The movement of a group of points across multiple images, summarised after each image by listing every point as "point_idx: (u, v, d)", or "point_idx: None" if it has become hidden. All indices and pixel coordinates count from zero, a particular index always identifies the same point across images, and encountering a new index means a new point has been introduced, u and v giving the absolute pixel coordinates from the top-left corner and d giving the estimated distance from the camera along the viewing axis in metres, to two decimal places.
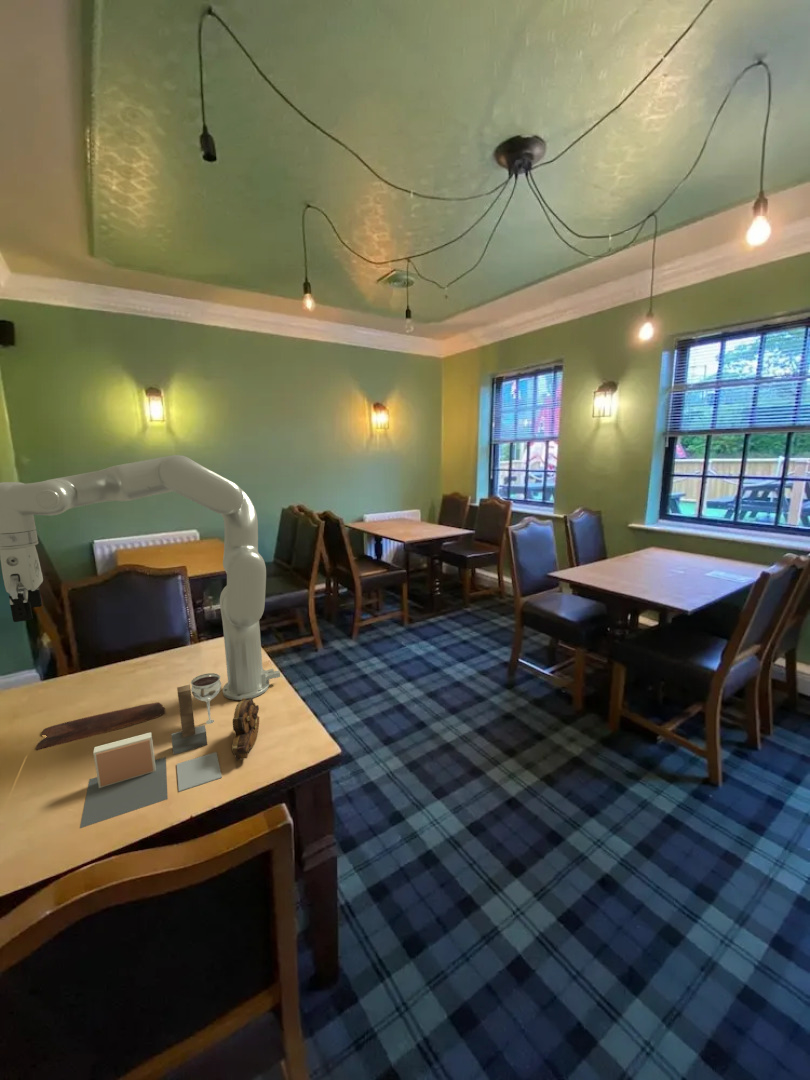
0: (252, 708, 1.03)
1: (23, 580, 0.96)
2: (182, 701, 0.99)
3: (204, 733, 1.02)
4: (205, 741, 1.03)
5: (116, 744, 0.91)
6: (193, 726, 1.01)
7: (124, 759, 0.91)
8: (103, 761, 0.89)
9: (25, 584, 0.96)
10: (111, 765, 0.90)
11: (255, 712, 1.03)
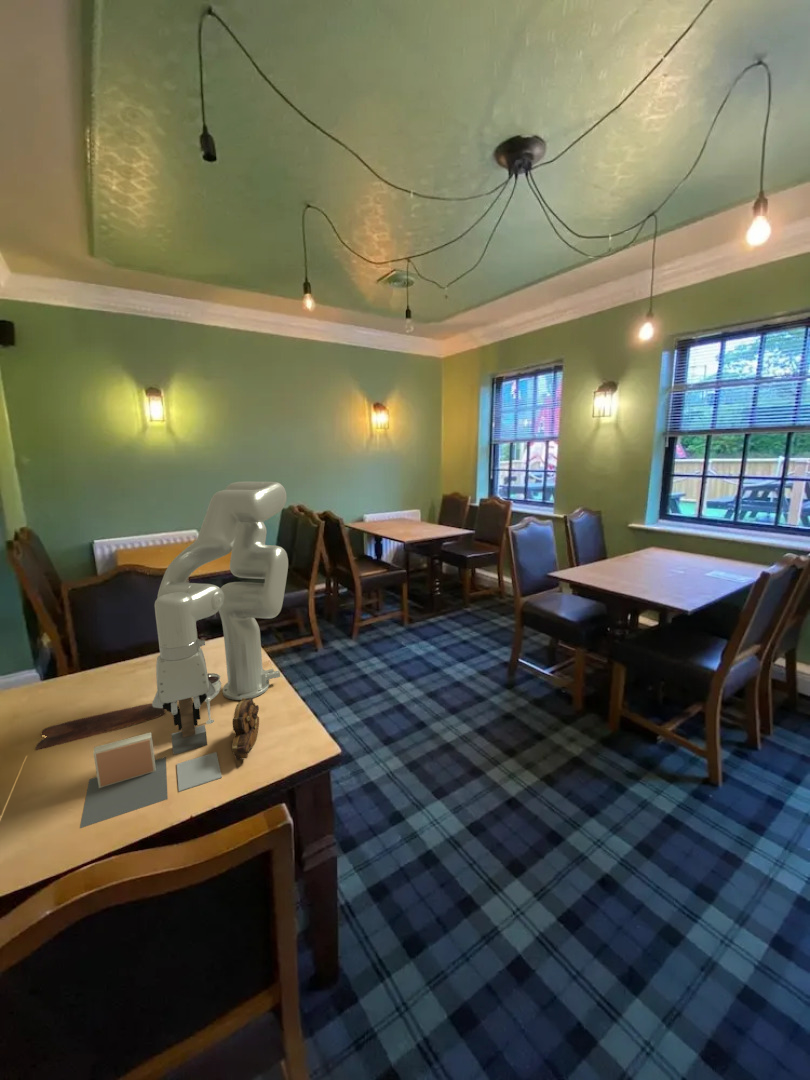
0: (252, 708, 1.03)
1: None
2: (182, 701, 0.99)
3: (204, 733, 1.02)
4: (205, 741, 1.03)
5: (116, 744, 0.91)
6: (193, 726, 1.01)
7: (124, 759, 0.91)
8: (103, 761, 0.89)
9: None
10: (111, 765, 0.90)
11: (255, 712, 1.03)
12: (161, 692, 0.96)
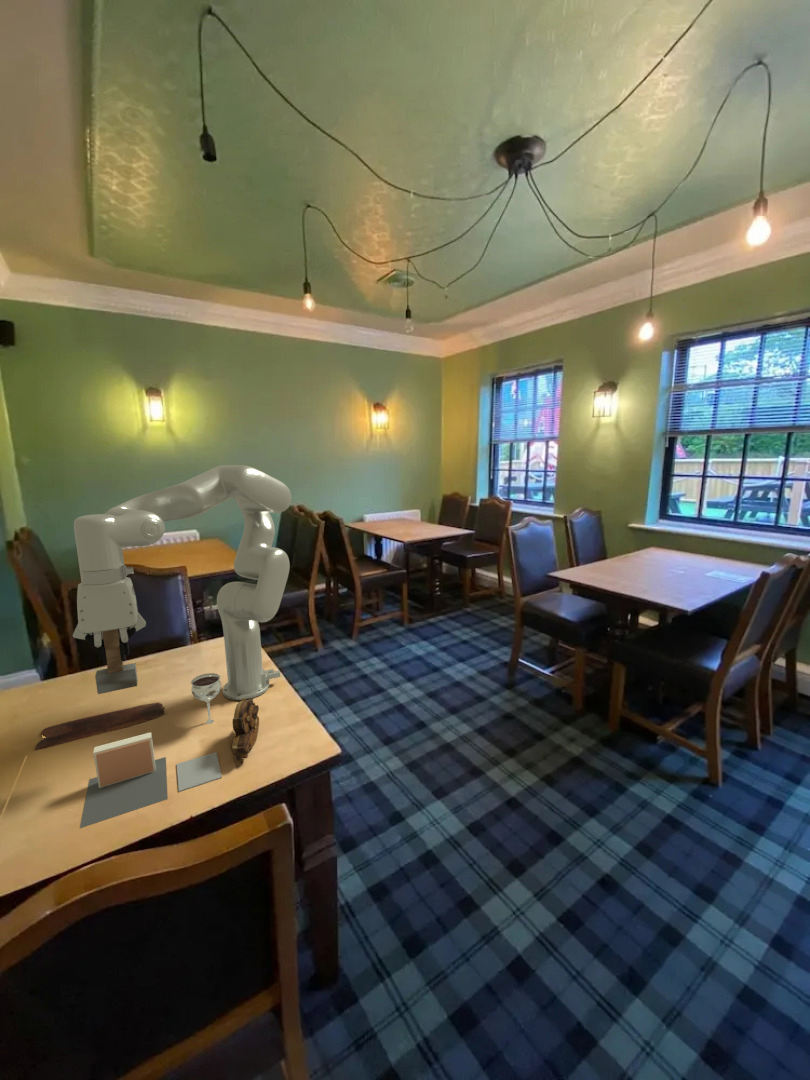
0: (252, 708, 1.03)
1: (137, 608, 0.96)
2: (107, 632, 0.91)
3: (133, 670, 0.95)
4: (134, 679, 0.95)
5: (116, 744, 0.91)
6: (120, 661, 0.93)
7: (124, 759, 0.91)
8: (103, 761, 0.89)
9: (138, 612, 0.96)
10: (111, 765, 0.90)
11: (255, 712, 1.03)
12: (81, 620, 0.88)
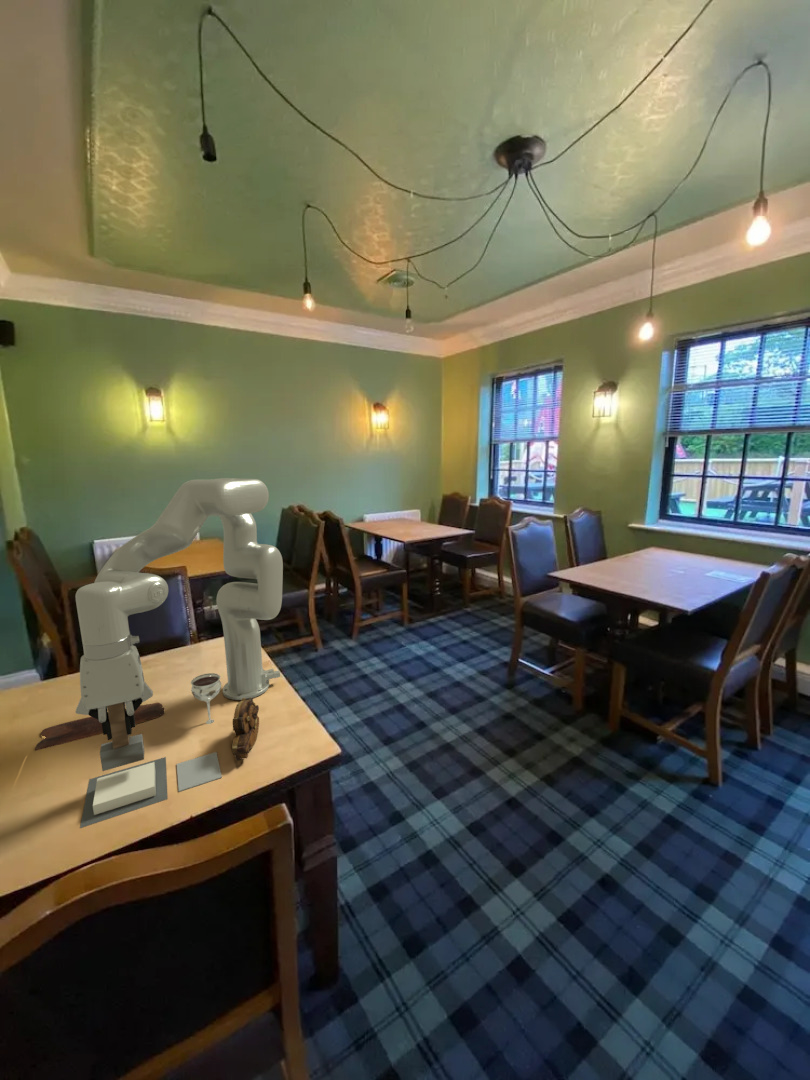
0: (252, 708, 1.03)
1: (143, 677, 0.90)
2: (112, 706, 0.86)
3: (139, 743, 0.89)
4: (141, 753, 0.90)
5: (117, 803, 0.85)
6: (126, 735, 0.88)
7: None
8: None
9: None
10: None
11: (255, 712, 1.03)
12: (85, 696, 0.83)
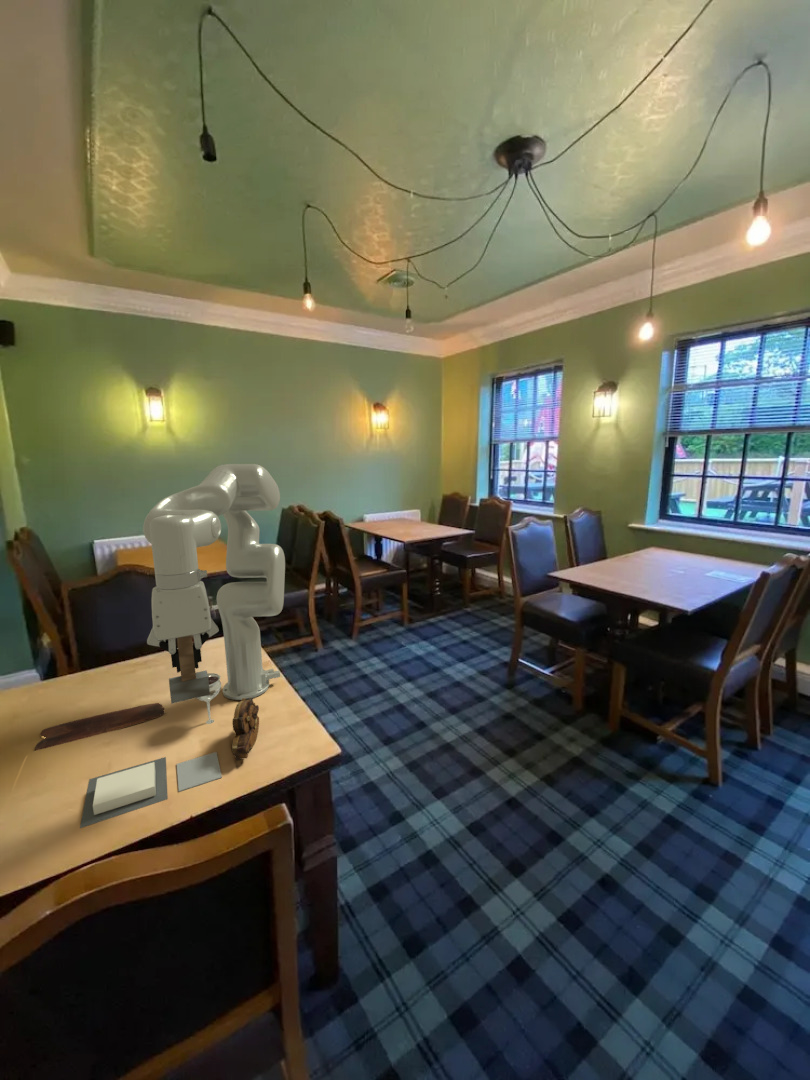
0: (252, 708, 1.03)
1: None
2: (181, 639, 0.87)
3: (206, 678, 0.90)
4: (207, 687, 0.91)
5: (117, 803, 0.85)
6: (193, 669, 0.89)
7: None
8: None
9: None
10: None
11: (255, 712, 1.03)
12: (157, 626, 0.84)
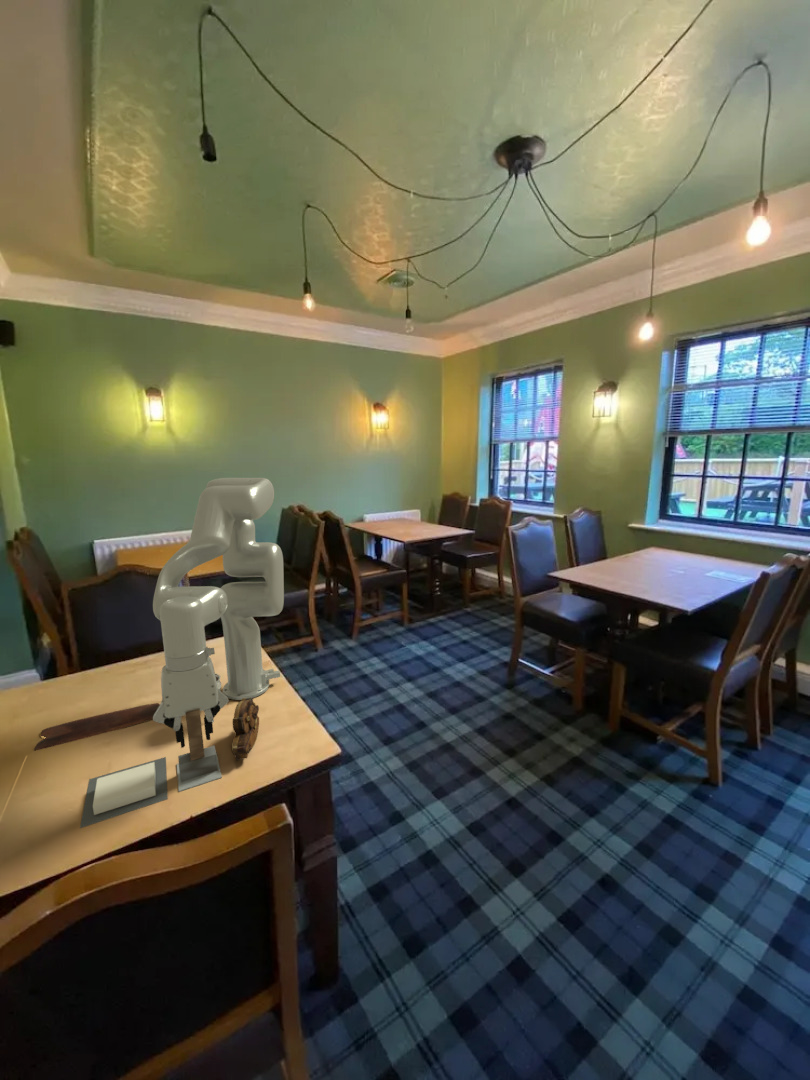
0: (252, 708, 1.03)
1: (216, 687, 0.95)
2: (191, 722, 0.90)
3: (214, 756, 0.93)
4: (215, 764, 0.94)
5: (117, 803, 0.85)
6: (202, 748, 0.92)
7: None
8: None
9: None
10: None
11: (255, 712, 1.03)
12: (167, 706, 0.87)
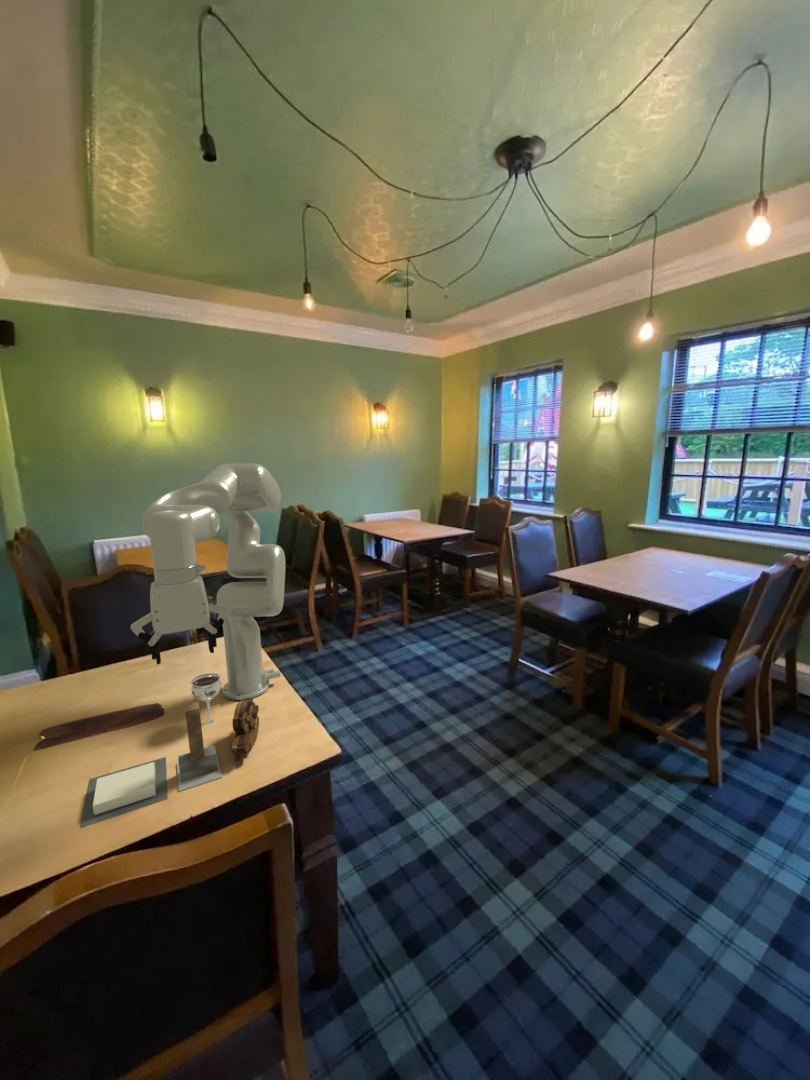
0: (252, 708, 1.03)
1: None
2: (191, 720, 0.90)
3: (214, 755, 0.94)
4: (215, 764, 0.94)
5: (117, 803, 0.85)
6: (202, 748, 0.92)
7: None
8: None
9: None
10: None
11: (255, 712, 1.03)
12: (156, 621, 0.85)
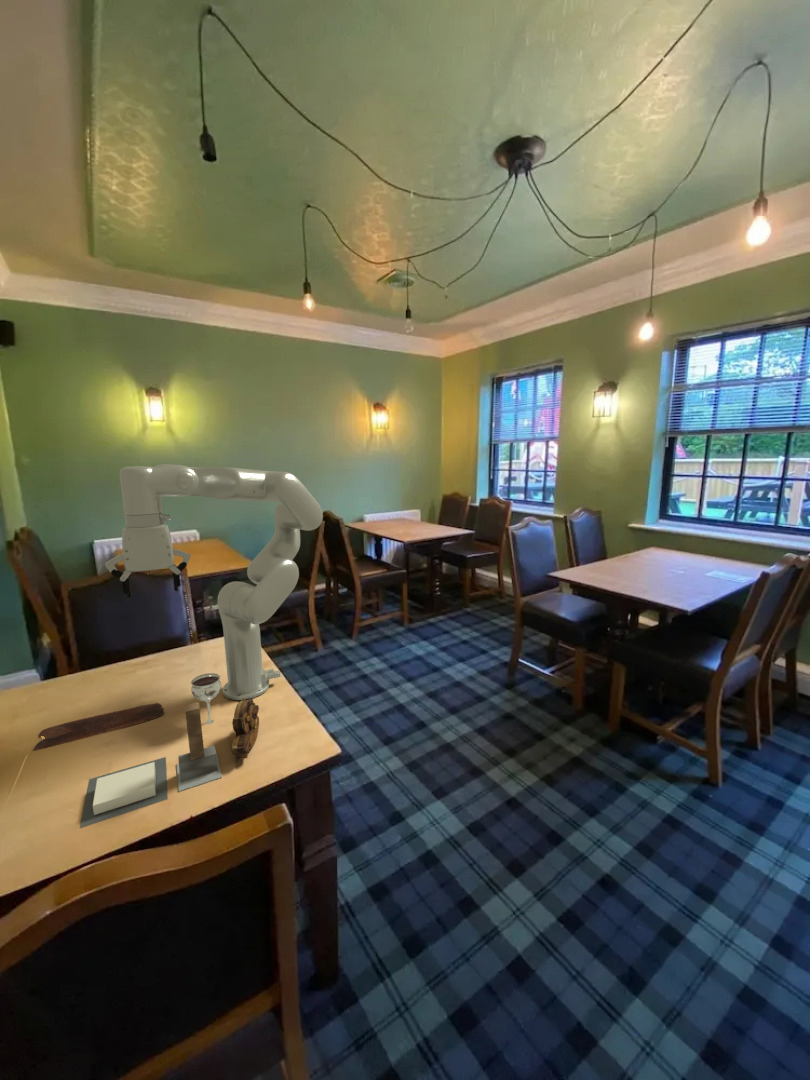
0: (252, 708, 1.03)
1: None
2: (191, 720, 0.90)
3: (214, 755, 0.94)
4: (215, 764, 0.94)
5: (117, 803, 0.85)
6: (202, 748, 0.92)
7: None
8: None
9: None
10: None
11: (255, 712, 1.03)
12: (126, 559, 1.00)
